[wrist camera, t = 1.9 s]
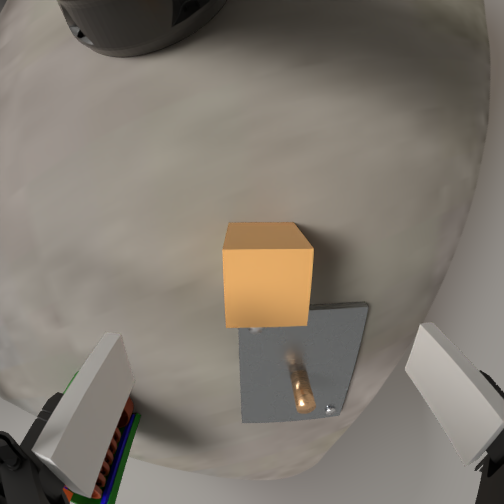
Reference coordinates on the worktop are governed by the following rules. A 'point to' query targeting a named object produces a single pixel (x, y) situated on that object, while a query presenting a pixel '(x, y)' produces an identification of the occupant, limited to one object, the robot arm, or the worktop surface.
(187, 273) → the worktop surface
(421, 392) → the robot arm
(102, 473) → the motor
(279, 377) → the plate
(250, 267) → the orange block
